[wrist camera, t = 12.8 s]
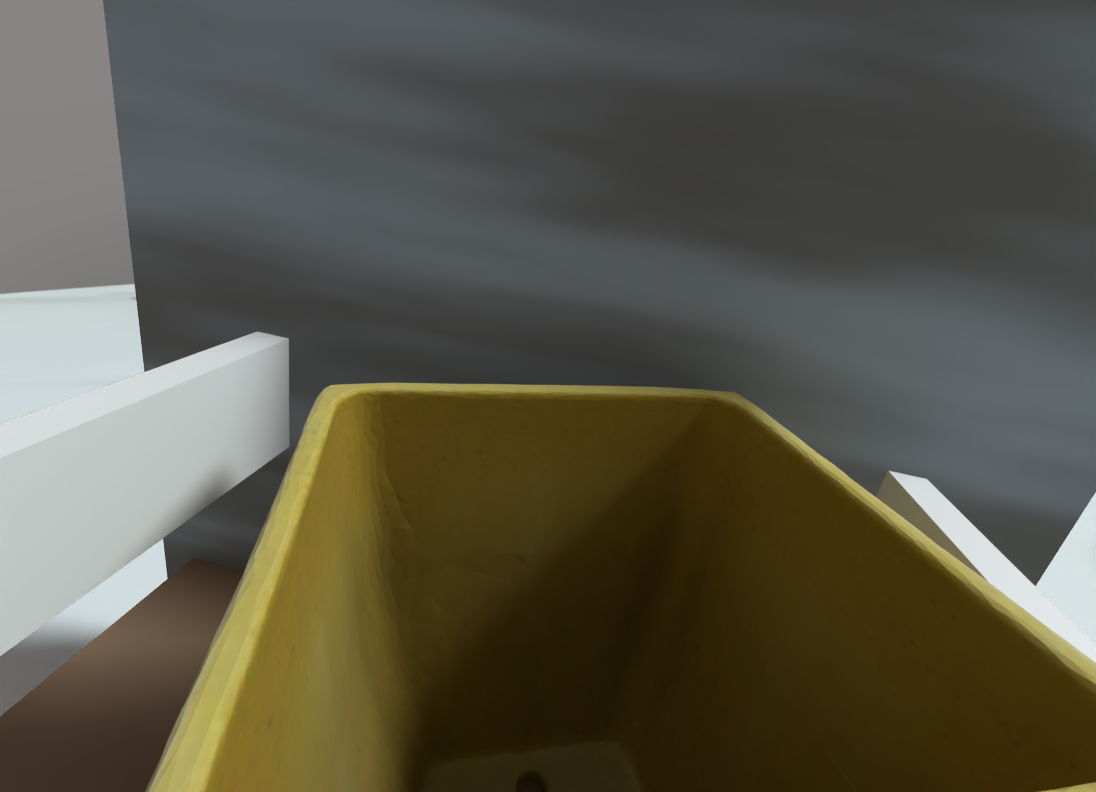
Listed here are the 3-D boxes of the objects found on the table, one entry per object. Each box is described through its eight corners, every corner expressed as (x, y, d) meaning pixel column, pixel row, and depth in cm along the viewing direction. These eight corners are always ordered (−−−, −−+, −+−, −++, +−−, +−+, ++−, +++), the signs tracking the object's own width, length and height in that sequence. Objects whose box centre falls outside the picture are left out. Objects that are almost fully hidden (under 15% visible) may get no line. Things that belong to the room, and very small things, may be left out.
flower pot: (667, 669, 16) (738, 382, 12) (905, 1177, 8) (1294, 789, 4) (346, 707, 14) (321, 378, 10) (245, 1432, 6) (-2, 1095, 2)
